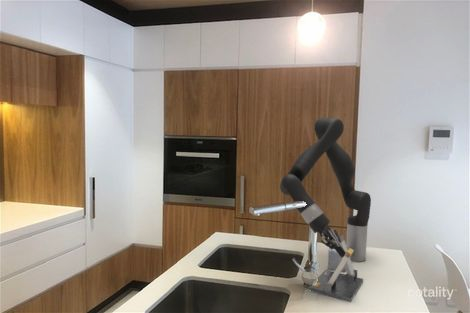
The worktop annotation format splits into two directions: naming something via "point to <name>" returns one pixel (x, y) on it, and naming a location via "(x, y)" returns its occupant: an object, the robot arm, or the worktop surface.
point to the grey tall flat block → (348, 265)
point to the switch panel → (338, 285)
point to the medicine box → (334, 260)
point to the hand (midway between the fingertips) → (344, 255)
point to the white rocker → (340, 266)
